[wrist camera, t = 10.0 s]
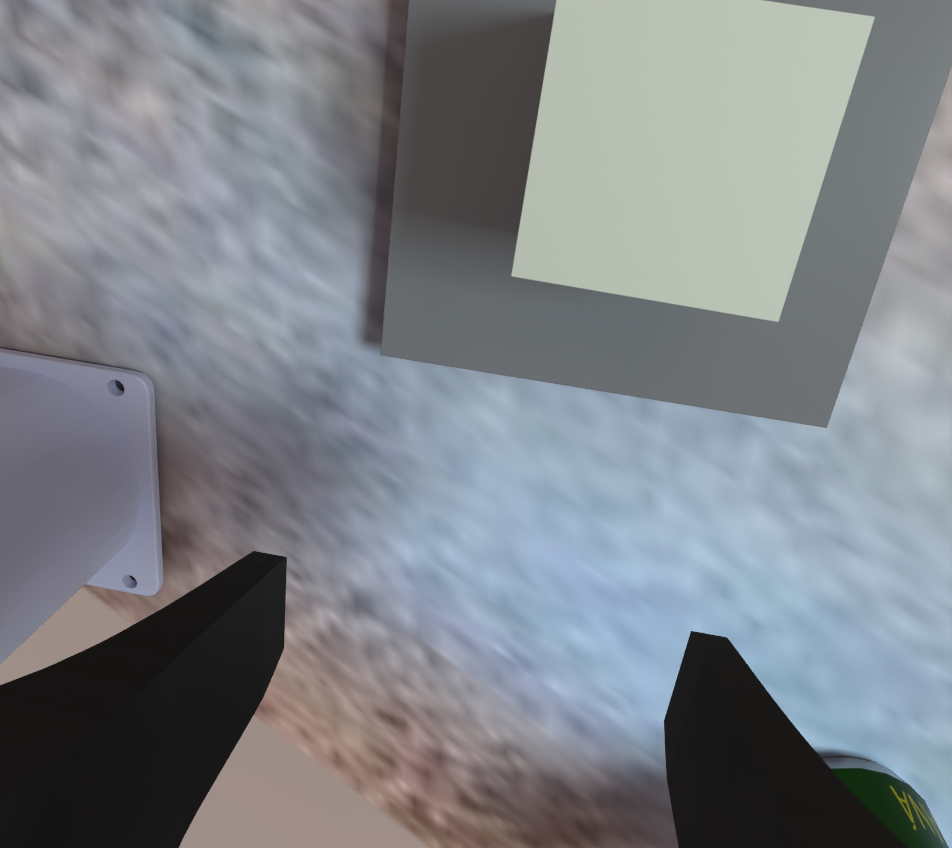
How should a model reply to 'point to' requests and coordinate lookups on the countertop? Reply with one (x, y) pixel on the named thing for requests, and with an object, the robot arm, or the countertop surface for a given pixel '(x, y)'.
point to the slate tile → (617, 316)
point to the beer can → (889, 801)
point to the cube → (684, 147)
